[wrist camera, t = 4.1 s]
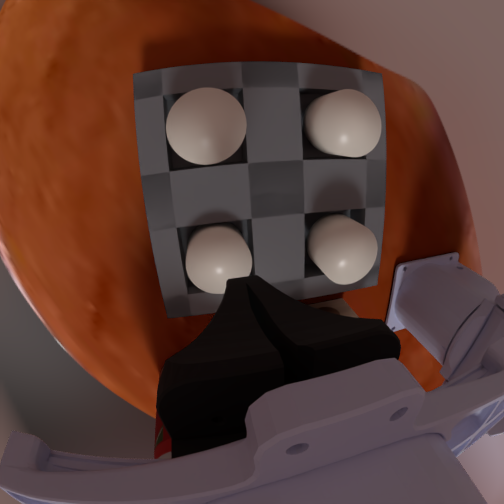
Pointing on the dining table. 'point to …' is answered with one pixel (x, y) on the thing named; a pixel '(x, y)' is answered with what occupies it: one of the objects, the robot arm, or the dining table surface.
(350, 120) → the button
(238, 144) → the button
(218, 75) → the button board
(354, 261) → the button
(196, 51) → the dining table surface
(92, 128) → the dining table surface
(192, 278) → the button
